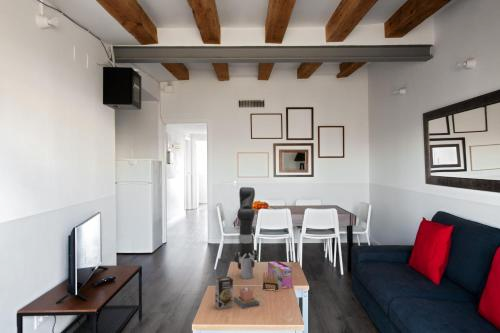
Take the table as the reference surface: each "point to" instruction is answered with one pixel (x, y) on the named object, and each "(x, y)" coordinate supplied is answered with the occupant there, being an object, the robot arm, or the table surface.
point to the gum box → (281, 273)
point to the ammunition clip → (270, 281)
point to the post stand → (246, 303)
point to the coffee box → (224, 292)
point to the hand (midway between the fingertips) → (246, 268)
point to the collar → (246, 294)
